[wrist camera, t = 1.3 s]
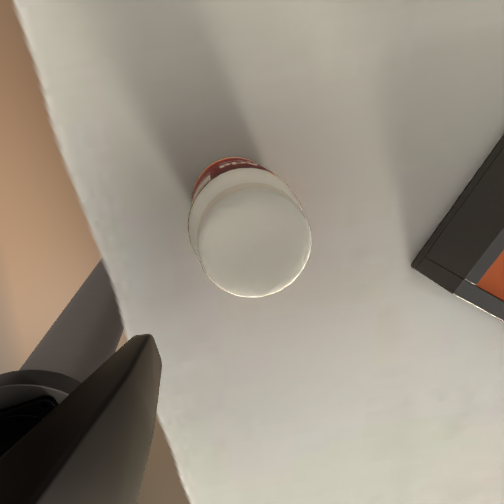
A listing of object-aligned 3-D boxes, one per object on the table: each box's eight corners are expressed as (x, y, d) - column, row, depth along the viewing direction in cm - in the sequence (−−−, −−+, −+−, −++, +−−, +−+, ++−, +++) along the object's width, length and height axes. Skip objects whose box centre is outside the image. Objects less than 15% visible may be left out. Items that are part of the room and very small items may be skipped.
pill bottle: (287, 173, 19) (346, 206, 11) (255, 247, 20) (290, 322, 13) (208, 141, 18) (214, 153, 10) (180, 222, 19) (167, 287, 11)
